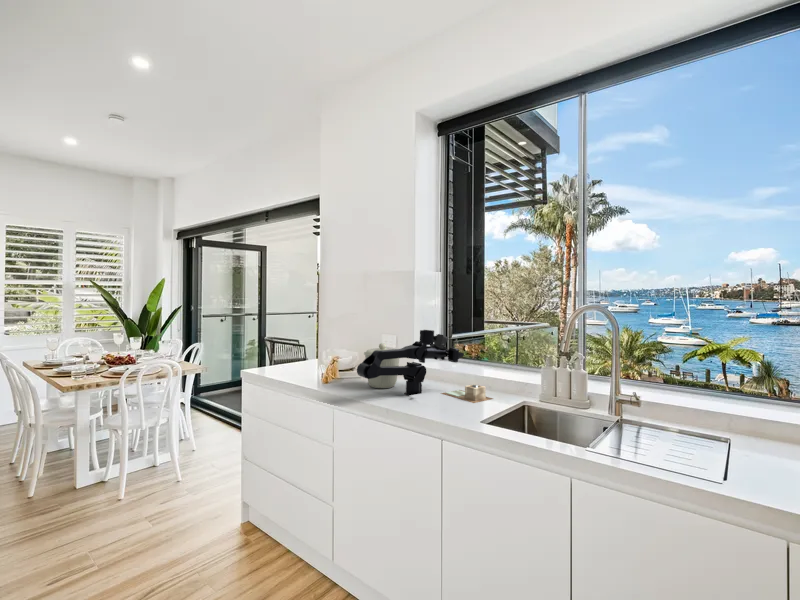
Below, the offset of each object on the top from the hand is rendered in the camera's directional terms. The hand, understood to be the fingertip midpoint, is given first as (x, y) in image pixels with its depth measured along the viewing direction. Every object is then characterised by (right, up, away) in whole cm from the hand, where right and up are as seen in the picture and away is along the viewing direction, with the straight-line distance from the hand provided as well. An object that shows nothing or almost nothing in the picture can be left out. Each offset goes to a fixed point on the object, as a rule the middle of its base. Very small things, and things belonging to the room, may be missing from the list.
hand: (457, 352), depth 203 cm
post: (+4, -16, -26) cm, 31 cm away
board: (+1, -17, -22) cm, 28 cm away
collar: (+4, -16, -26) cm, 31 cm away
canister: (-36, -17, +3) cm, 40 cm away
